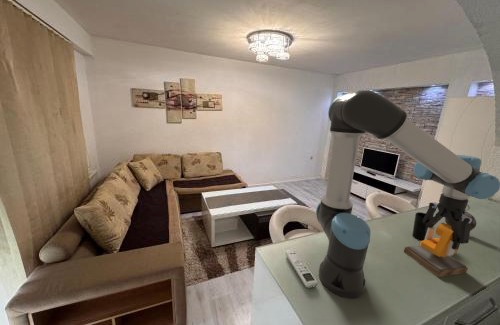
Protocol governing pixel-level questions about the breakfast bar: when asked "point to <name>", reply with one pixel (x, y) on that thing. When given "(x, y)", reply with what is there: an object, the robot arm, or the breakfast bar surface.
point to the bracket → (439, 241)
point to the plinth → (435, 262)
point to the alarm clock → (462, 221)
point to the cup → (419, 227)
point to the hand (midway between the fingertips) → (437, 247)
